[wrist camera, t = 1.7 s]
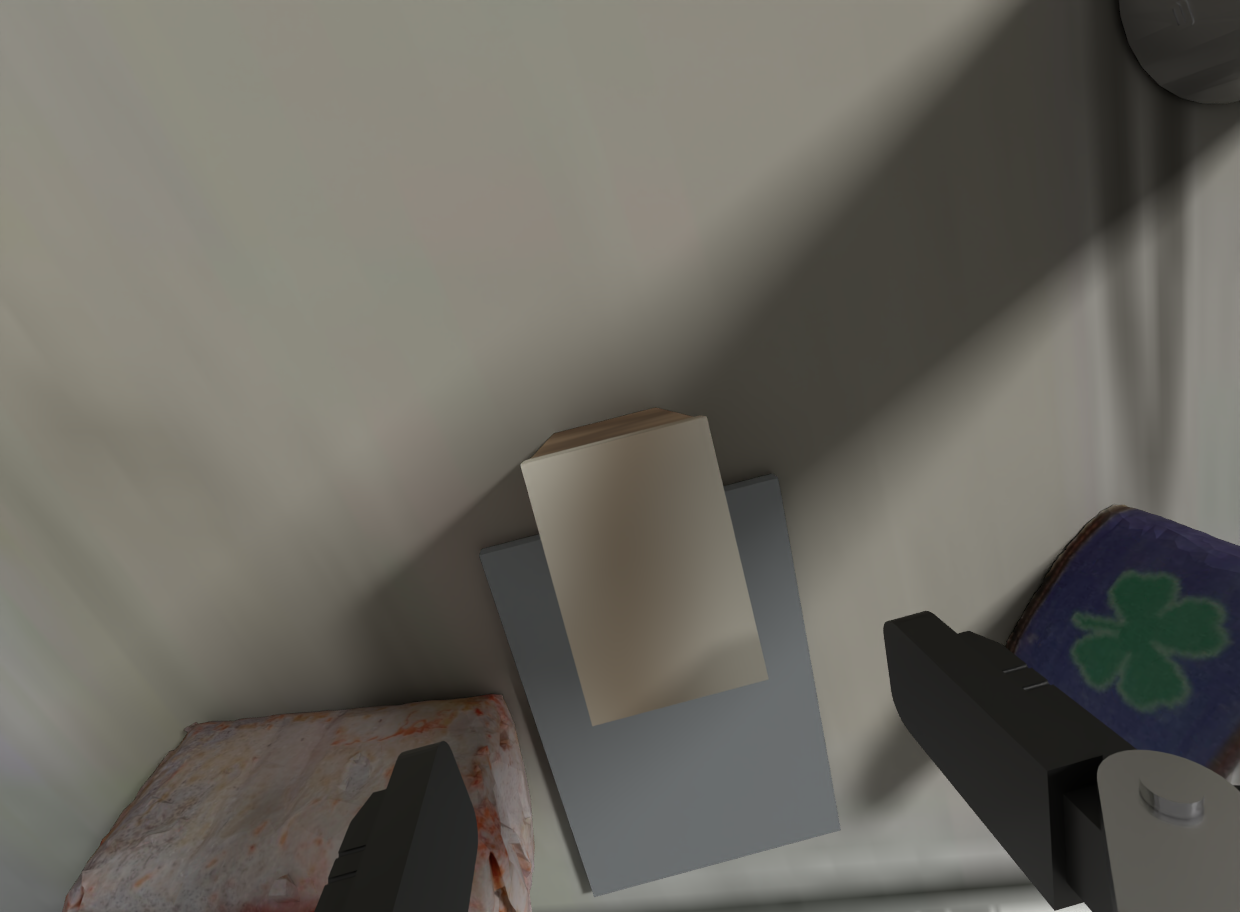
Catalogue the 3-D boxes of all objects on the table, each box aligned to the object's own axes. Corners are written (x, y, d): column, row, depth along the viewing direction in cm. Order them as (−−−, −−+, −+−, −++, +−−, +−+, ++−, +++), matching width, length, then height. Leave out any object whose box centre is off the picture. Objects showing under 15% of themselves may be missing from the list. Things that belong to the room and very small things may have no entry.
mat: (773, 473, 24) (778, 478, 23) (835, 819, 29) (840, 830, 28) (481, 549, 24) (479, 555, 23) (593, 884, 28) (594, 896, 28)
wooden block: (656, 405, 23) (706, 416, 13) (693, 556, 23) (768, 679, 13) (552, 432, 23) (520, 464, 13) (592, 583, 23) (592, 726, 13)
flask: (1029, 686, 28) (1305, 917, 17) (980, 664, 27) (1235, 889, 17) (1152, 517, 26) (1542, 661, 16) (1103, 489, 25) (1472, 619, 15)
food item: (528, 665, 25) (504, 887, 16) (542, 816, 27) (529, 1093, 18) (191, 695, 24) (-51, 951, 15) (233, 849, 26) (45, 1161, 17)
